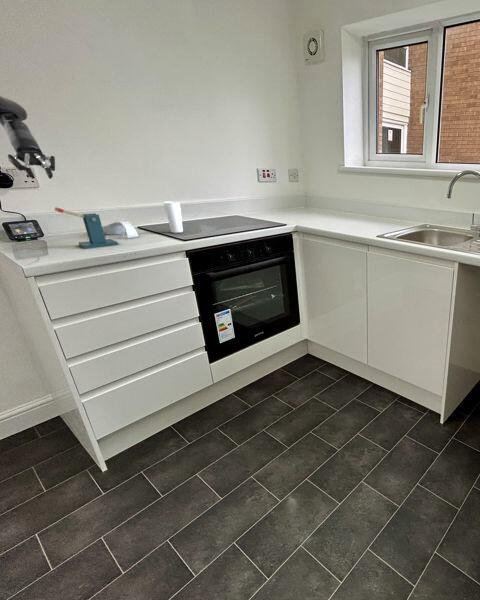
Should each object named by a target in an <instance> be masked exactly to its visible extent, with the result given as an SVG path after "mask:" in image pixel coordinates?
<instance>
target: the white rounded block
mask: <svg viewBox="0 0 480 600" xmlns="http://www.w3.org/2000/svg"><path fill="white" fill-rule="evenodd" d="M102 228H103V232H104V234H106V235H109V236H114V235H115V236H117V235H122V234H124V232H125V236H126V238H127V239H132V238H138V237H139V234H138V232H137V230H136V229H135V227H134V226H133V225H132V224H131V223H130V222H129V221H127V220H124V221H114V222H113V223H109V224H106V225H102Z"/></svg>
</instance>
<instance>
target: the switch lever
mask: <svg viewBox="0 0 480 600" xmlns="http://www.w3.org/2000/svg"><path fill="white" fill-rule="evenodd" d="M54 211H56V212H58V213H62V214H67V215H70V216H74V217H79V218H82V219H83V218H85V216H84V215H82V214H80V213H77V212H74V211H73V212H72V211H70V210H66V209H63V208H60V207H55V208H54Z"/></svg>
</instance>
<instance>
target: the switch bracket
mask: <svg viewBox="0 0 480 600" xmlns="http://www.w3.org/2000/svg"><path fill="white" fill-rule="evenodd" d="M81 215H84V216H85V218H82V221H83V224H84V227H85V230H86V234H87V238H88V241H79V242H78V243H77V244H78V246H80V247H81V248H83V249H94V248H103V247H111V246H118V244H119V242H118V241H116V240H114V239H112V238H106V236H105V233H104V232H103V228H102V226H103V224H102V221H101V217H100V215H99V214H97V213H95V212H94V213H93V212H92V213H81Z"/></svg>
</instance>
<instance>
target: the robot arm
mask: <svg viewBox="0 0 480 600" xmlns="http://www.w3.org/2000/svg"><path fill="white" fill-rule="evenodd" d="M27 119H28V112H27V110H26V109H25V108H24V107H23V106H22V105H21V104H19V103H17V102H16V101H14V100H12V99H9V98H7V97H4V96H3V95H0V125H1V126H2V128H3V129H4V130H5V132H6V134H7V136H8V139H9V141H10V144H11V146H12V147H13V149H14V152H15V153H16V154H15V155H12V154H10V153H9V154H7V159H8V161H9V162H10V164H12V165H13V166H14V168H15V169H17V170H18V171H20V172H22V171H25V173H26V176H27V177H28V178H31V179H32V180H34V179H35V174H34V172H33V170H32V168H31V166H39V167H40V168H41V169H43V171H45V173H46V176H47V177H48V179H49V180H51V179H52V178H54V174H53V172H55V171H56V156H54V155H50V156H47V155H45V154H44V153H43V152H42V149H41V148H40V146H39V144H38V142H37V139H35V137H34V135H33V134H32V131H31V130H30V128H29V126H28V125H27V124H26V122H24V121H26V120H27ZM18 160H19V161H18ZM20 161H21V162H22V163H24V165H23V164H21V163H20ZM46 161H47V162H48V163H49V164H50V165H49V164H47V162H46Z"/></svg>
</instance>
